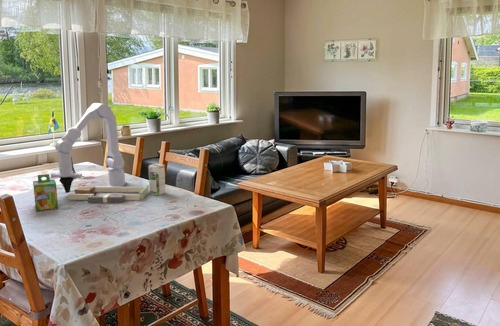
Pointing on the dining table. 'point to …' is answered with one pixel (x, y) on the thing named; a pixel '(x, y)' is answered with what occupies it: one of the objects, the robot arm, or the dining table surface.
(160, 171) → the syrup box
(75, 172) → the eiffel tower figurine
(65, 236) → the dining table surface
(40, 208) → the chalk box
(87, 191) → the walnut block
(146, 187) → the trap lane
